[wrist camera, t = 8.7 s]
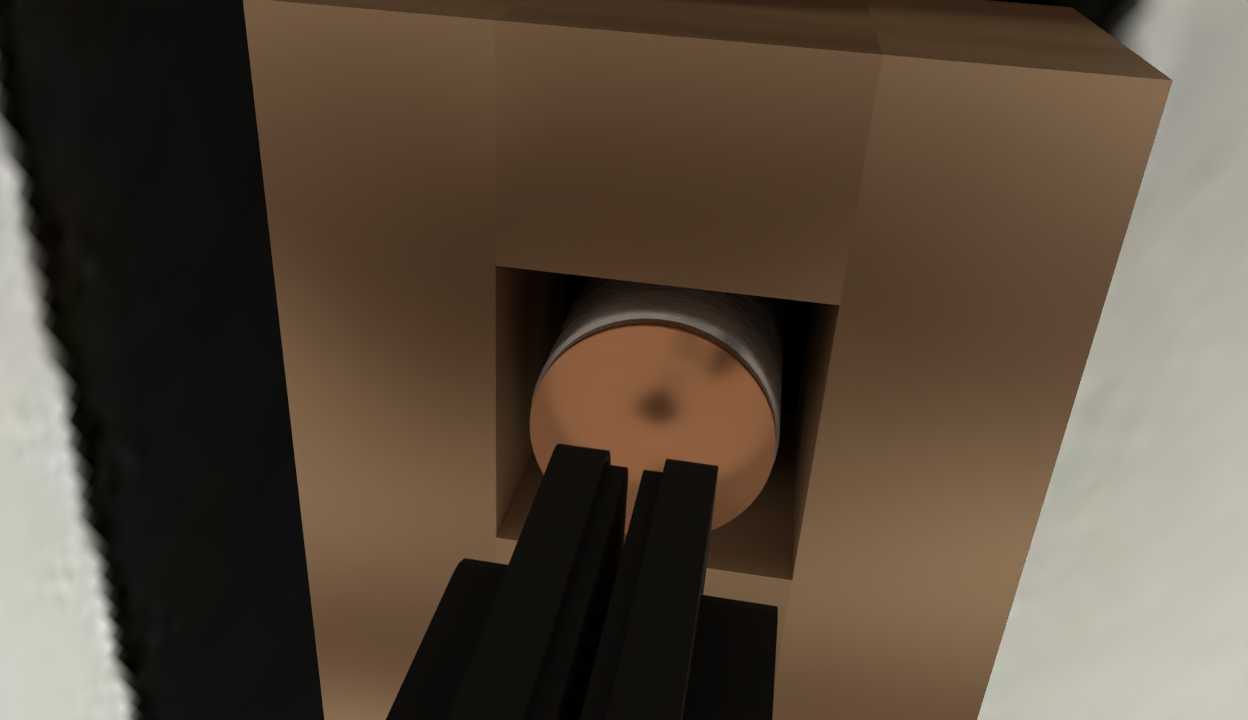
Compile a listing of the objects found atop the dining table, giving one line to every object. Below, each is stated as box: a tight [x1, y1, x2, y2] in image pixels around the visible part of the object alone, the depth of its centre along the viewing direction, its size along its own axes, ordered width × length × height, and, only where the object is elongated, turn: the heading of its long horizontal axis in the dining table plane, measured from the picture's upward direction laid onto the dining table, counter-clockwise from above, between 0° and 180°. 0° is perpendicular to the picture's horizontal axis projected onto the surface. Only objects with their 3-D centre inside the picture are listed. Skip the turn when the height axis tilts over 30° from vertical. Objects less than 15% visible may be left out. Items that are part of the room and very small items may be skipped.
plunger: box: [530, 276, 785, 535], centre depth 17 cm, size 4×4×5 cm
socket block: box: [243, 0, 1172, 720], centre depth 19 cm, size 20×11×5 cm, turn 177°
